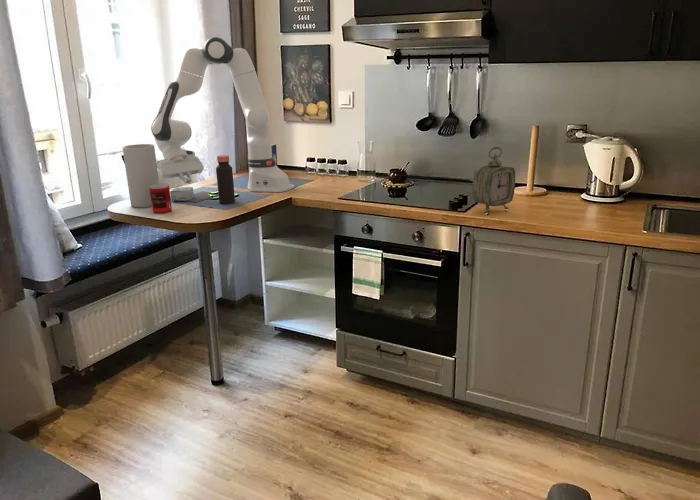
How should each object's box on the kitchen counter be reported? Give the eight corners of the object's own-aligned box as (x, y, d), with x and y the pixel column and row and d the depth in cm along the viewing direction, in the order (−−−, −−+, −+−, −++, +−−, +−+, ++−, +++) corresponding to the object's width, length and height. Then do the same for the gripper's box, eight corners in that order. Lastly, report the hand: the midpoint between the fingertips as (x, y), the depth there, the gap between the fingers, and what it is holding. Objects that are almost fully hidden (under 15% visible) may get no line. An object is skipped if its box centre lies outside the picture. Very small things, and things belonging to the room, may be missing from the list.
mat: (222, 193, 262) (222, 193, 262) (196, 202, 247) (196, 201, 246) (202, 191, 267) (202, 191, 267) (175, 200, 252) (175, 199, 252)
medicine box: (193, 186, 255) (187, 190, 247) (194, 196, 256) (189, 200, 248) (175, 187, 255) (169, 191, 247) (176, 197, 257) (170, 201, 248)
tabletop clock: (486, 217, 213) (490, 150, 205) (469, 212, 220) (472, 147, 212) (513, 211, 220) (517, 146, 212) (495, 206, 227) (499, 143, 220)
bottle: (216, 202, 246) (211, 155, 240) (230, 199, 250) (226, 154, 244) (223, 205, 241) (218, 157, 235) (238, 202, 245) (233, 155, 239)
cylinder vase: (145, 209, 237) (137, 148, 229) (124, 206, 243) (115, 147, 235) (167, 202, 247) (160, 144, 239) (147, 200, 253) (139, 143, 245)
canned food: (167, 208, 238) (163, 182, 234) (175, 211, 232) (172, 185, 228) (149, 211, 233) (145, 185, 229) (157, 215, 227) (153, 188, 224)
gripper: (155, 156, 250) (168, 181, 246) (197, 150, 263) (210, 174, 259) (152, 165, 254) (165, 190, 250) (193, 159, 267) (206, 182, 264)
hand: (188, 182), depth 255 cm, fingers closed
